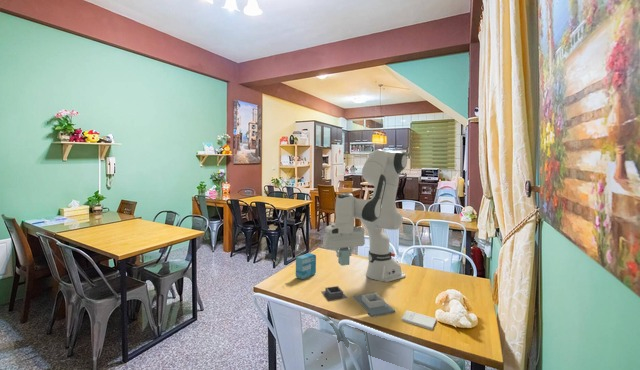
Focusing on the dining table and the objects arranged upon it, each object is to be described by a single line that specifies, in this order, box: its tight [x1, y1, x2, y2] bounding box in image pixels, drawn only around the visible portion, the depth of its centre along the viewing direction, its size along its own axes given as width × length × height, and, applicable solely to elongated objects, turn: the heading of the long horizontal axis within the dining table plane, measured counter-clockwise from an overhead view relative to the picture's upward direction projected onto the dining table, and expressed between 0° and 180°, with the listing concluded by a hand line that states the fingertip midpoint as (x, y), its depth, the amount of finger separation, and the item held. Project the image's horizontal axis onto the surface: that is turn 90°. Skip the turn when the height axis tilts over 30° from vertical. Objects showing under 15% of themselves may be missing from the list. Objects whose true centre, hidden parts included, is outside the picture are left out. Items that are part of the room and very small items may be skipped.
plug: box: [337, 247, 351, 267], centre depth 138 cm, size 4×4×8 cm
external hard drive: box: [400, 309, 438, 331], centre depth 122 cm, size 2×8×12 cm
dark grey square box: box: [321, 285, 348, 302], centre depth 141 cm, size 10×10×4 cm
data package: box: [295, 252, 317, 280], centre depth 165 cm, size 12×4×12 cm, turn 138°
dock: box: [352, 292, 396, 318], centre depth 134 cm, size 12×18×4 cm, turn 19°
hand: (343, 256), depth 138 cm, fingers closed on plug, 4 cm apart
